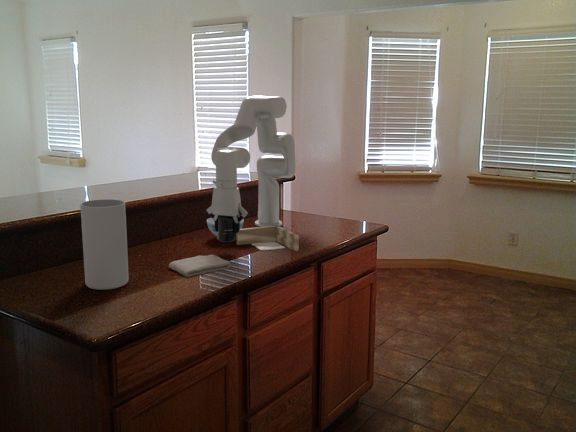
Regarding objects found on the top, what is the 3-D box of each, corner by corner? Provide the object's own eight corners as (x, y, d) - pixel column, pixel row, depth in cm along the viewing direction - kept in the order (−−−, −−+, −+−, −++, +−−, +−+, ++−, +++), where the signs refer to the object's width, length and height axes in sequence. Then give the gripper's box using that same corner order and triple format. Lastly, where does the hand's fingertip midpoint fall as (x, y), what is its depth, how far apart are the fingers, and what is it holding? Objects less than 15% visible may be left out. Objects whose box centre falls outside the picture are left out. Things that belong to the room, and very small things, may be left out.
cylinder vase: (113, 274, 169) (109, 197, 164) (137, 283, 162) (133, 203, 156) (77, 283, 160) (72, 203, 155) (100, 293, 152) (95, 209, 147)
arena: (236, 244, 208) (236, 229, 207) (277, 239, 216) (277, 225, 215) (254, 256, 192) (255, 240, 191) (298, 250, 200) (298, 235, 199)
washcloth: (232, 268, 179) (232, 259, 179) (186, 279, 168) (186, 269, 167) (213, 260, 188) (213, 251, 187) (168, 269, 177) (168, 261, 176)
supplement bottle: (227, 243, 191) (227, 211, 188) (214, 240, 195) (213, 208, 192) (240, 239, 196) (240, 207, 193) (226, 236, 200) (226, 205, 197)
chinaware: (246, 234, 223) (246, 217, 221) (239, 244, 208) (239, 225, 207) (211, 233, 224) (211, 215, 223) (202, 242, 210) (202, 223, 208)
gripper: (200, 184, 190) (201, 232, 194) (244, 187, 184) (245, 236, 189) (209, 181, 196) (210, 227, 201) (252, 184, 191) (252, 231, 196)
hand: (227, 231), depth 195 cm, fingers closed on supplement bottle, 6 cm apart
